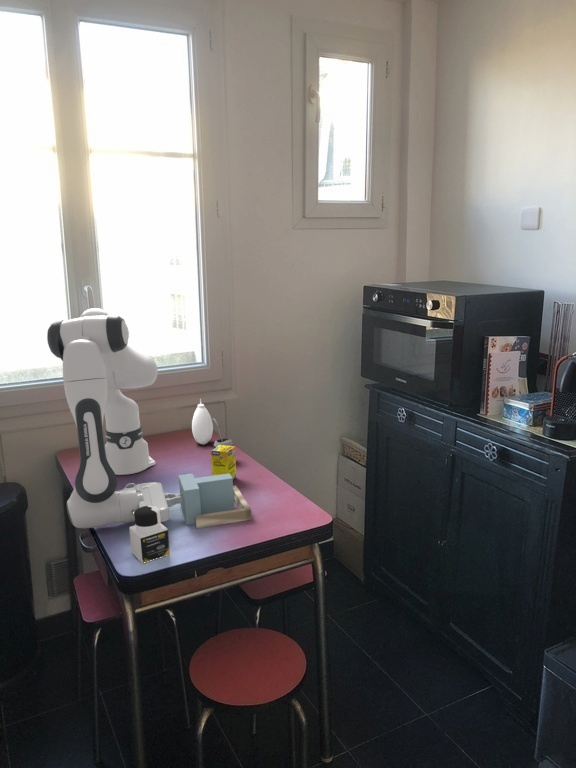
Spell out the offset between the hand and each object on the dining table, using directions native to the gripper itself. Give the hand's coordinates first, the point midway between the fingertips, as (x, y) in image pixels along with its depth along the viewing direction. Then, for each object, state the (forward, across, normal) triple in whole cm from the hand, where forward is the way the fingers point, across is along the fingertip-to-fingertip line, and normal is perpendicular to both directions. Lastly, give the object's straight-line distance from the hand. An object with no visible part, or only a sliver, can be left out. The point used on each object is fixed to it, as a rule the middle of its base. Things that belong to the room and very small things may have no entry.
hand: (182, 497), depth 173 cm
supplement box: (+16, +22, +6) cm, 28 cm away
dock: (+10, 0, +6) cm, 11 cm away
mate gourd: (+19, +39, +6) cm, 44 cm away
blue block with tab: (+7, 0, +5) cm, 9 cm away
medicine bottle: (-11, -19, +6) cm, 23 cm away
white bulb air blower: (+16, +62, +6) cm, 64 cm away
